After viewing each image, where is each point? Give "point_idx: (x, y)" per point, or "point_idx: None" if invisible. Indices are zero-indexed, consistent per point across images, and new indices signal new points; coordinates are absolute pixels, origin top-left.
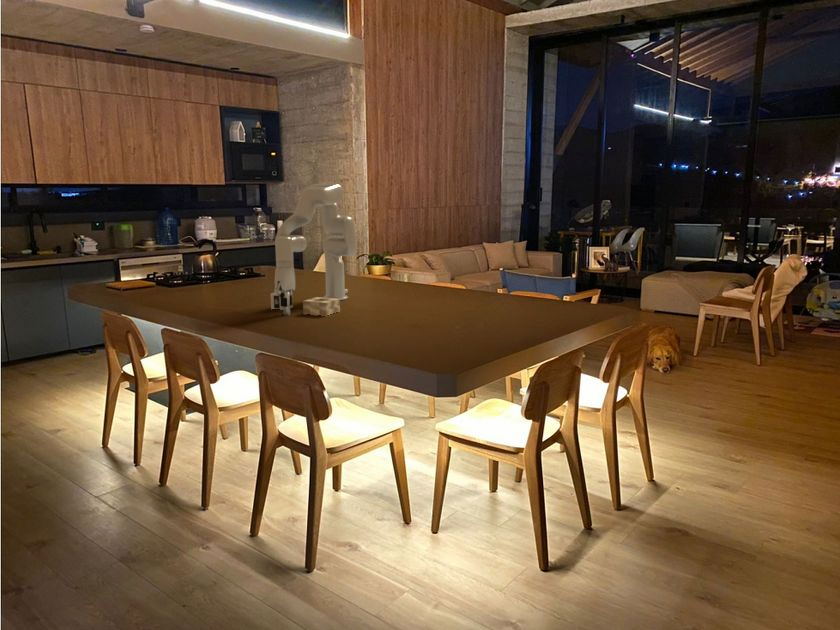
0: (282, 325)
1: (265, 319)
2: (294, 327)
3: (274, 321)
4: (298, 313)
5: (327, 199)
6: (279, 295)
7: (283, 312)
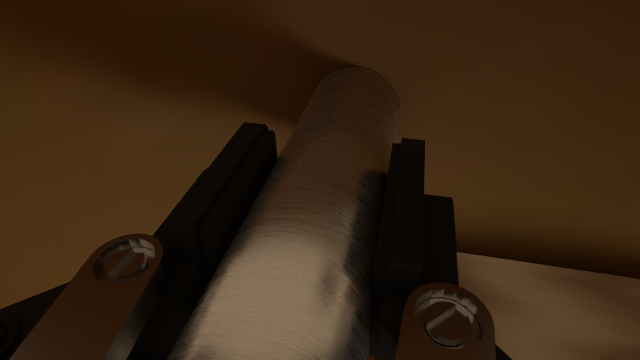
0: (22, 253)
1: (16, 19)
2: None
3: (42, 154)
4: (481, 194)
5: None
6: (33, 301)
7: (315, 93)
